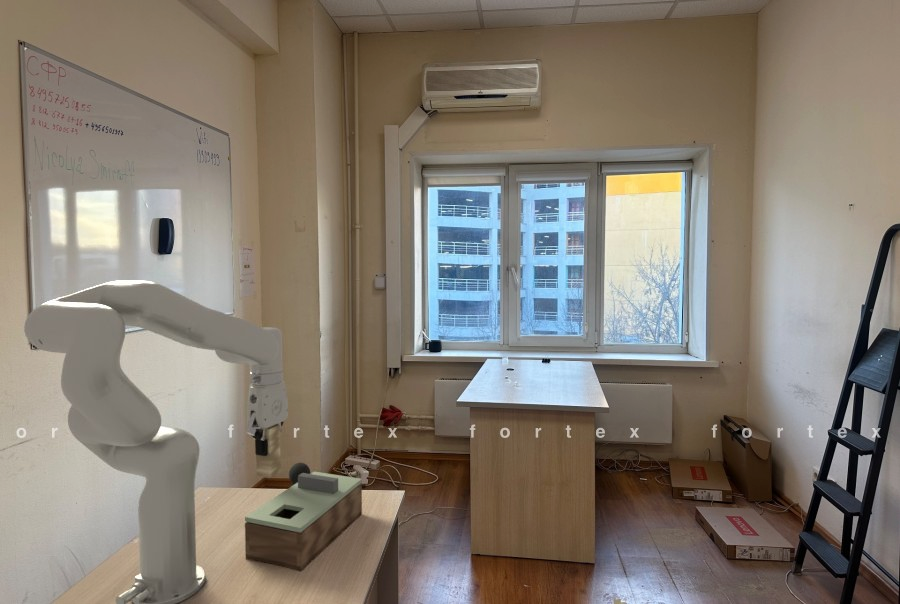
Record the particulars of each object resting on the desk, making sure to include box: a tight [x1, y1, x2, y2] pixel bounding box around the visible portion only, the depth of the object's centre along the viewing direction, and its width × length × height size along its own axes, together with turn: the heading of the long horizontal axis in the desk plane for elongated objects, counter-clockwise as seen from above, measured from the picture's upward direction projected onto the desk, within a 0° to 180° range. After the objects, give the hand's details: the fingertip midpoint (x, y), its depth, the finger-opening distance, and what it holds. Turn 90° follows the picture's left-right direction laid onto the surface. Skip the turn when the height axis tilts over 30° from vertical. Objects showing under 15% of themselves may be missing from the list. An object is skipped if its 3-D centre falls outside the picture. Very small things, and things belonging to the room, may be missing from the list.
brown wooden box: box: [244, 483, 363, 572], centre depth 118 cm, size 26×14×8 cm, turn 162°
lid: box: [244, 471, 363, 533], centre depth 117 cm, size 26×14×4 cm, turn 162°
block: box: [255, 424, 282, 479], centre depth 123 cm, size 4×4×12 cm
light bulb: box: [288, 462, 311, 486], centre depth 136 cm, size 6×6×10 cm
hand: (268, 450), depth 123 cm, fingers closed on block, 4 cm apart
